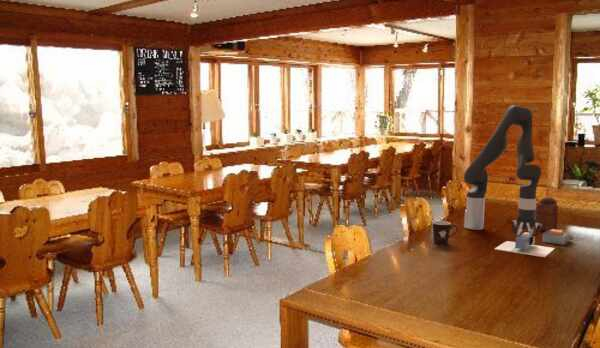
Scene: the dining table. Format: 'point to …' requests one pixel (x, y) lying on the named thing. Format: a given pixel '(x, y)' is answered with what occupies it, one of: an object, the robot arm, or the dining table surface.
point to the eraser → (523, 241)
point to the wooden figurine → (547, 213)
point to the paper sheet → (531, 250)
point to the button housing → (555, 238)
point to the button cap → (556, 232)
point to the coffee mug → (442, 232)
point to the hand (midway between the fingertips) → (524, 243)
